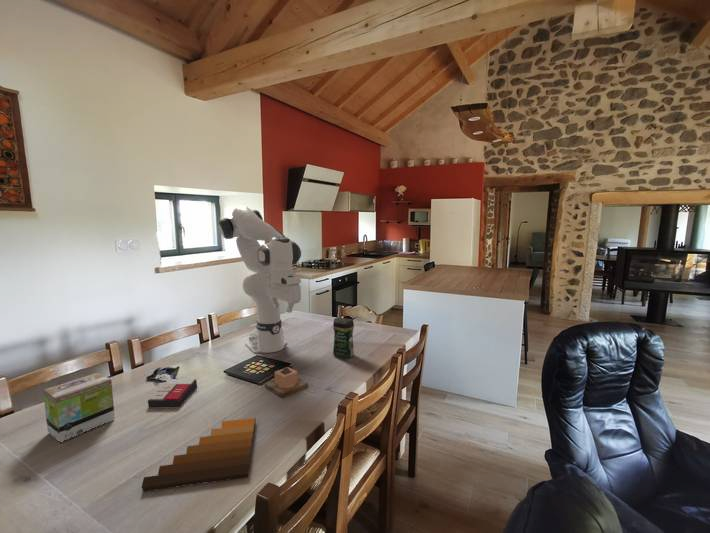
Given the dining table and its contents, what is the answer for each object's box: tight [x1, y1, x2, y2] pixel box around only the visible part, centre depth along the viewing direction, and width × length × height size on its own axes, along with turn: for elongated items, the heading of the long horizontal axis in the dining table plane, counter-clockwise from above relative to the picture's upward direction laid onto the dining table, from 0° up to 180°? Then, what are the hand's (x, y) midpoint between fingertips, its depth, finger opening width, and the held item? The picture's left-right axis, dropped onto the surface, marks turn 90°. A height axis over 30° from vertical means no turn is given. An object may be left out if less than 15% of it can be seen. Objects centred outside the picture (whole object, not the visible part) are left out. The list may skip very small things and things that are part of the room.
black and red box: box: [147, 378, 198, 408], centre depth 132 cm, size 11×4×15 cm
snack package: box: [146, 366, 180, 382], centre depth 148 cm, size 12×6×12 cm
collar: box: [274, 366, 299, 388], centre depth 139 cm, size 6×6×4 cm
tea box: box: [42, 372, 116, 443], centre depth 113 cm, size 15×10×15 cm
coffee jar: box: [332, 316, 355, 360], centre depth 169 cm, size 10×8×19 cm
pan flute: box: [141, 417, 256, 492], centre depth 101 cm, size 25×3×25 cm
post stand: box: [264, 366, 309, 399], centre depth 139 cm, size 12×12×8 cm
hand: (282, 309), depth 147 cm, fingers open, 8 cm apart
